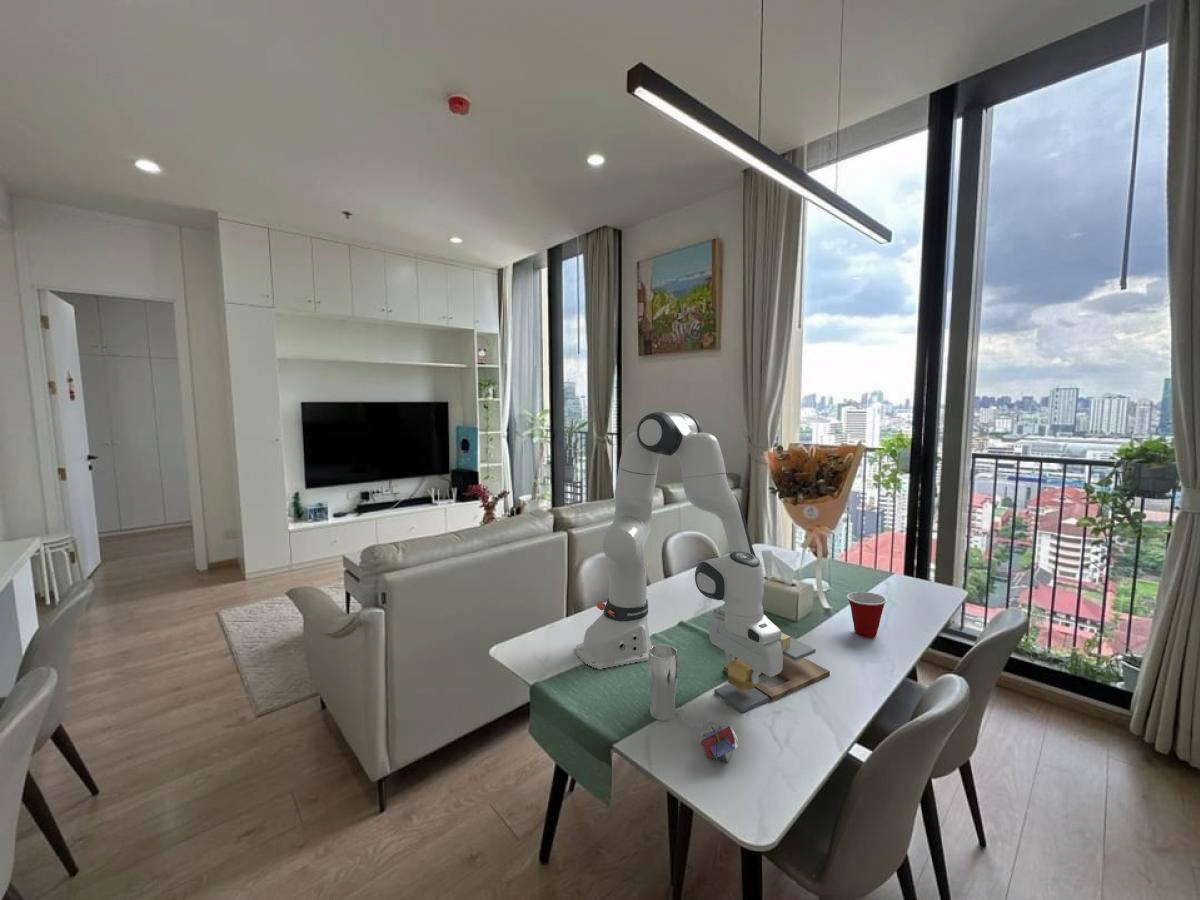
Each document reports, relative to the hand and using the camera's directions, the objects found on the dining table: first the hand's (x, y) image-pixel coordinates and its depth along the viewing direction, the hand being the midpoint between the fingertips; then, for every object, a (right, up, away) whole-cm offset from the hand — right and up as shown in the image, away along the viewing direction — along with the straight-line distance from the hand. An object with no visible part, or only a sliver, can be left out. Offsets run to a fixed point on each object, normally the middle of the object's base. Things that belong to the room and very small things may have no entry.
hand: (743, 675), depth 119 cm
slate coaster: (0, -6, 0) cm, 6 cm away
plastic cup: (+47, -2, +32) cm, 57 cm away
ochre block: (0, -2, 0) cm, 2 cm away
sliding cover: (+16, +1, +14) cm, 21 cm away
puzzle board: (+12, -4, +11) cm, 17 cm away
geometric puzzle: (-11, -8, -19) cm, 24 cm away
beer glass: (-20, -6, -5) cm, 22 cm away
